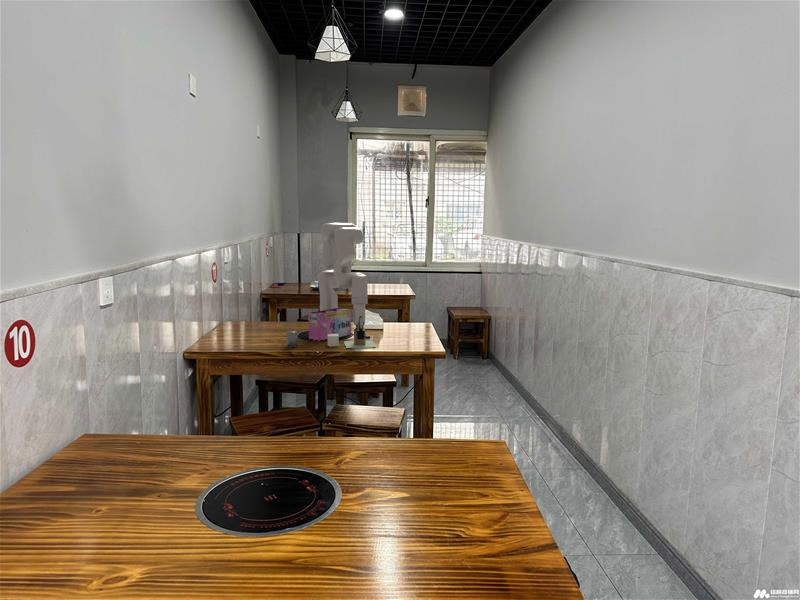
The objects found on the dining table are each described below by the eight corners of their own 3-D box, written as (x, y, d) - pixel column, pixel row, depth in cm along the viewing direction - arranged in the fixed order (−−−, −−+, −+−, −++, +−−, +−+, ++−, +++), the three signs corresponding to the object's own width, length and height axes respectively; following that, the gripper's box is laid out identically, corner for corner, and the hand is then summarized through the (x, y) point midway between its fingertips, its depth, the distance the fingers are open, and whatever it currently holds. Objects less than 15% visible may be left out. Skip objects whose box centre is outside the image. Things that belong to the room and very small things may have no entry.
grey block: (327, 344, 267) (327, 334, 267) (338, 344, 268) (337, 333, 267) (328, 346, 262) (327, 336, 262) (338, 346, 263) (338, 335, 263)
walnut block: (353, 343, 268) (353, 328, 267) (364, 342, 269) (364, 328, 268) (354, 345, 263) (354, 330, 262) (365, 345, 264) (365, 330, 263)
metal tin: (287, 345, 264) (286, 330, 263) (297, 345, 265) (297, 330, 264) (286, 347, 259) (286, 333, 258) (297, 347, 260) (297, 332, 259)
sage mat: (343, 342, 271) (343, 341, 271) (372, 341, 274) (372, 340, 274) (346, 348, 258) (346, 347, 257) (376, 347, 260) (376, 346, 260)
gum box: (342, 332, 296) (342, 307, 294) (353, 334, 291) (353, 308, 289) (308, 339, 278) (307, 312, 276) (318, 341, 273) (318, 314, 271)
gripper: (349, 298, 270) (350, 333, 273) (353, 303, 253) (353, 341, 256) (365, 297, 272) (365, 333, 274) (369, 303, 255) (369, 341, 257)
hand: (359, 337), depth 265 cm, fingers open, 7 cm apart
